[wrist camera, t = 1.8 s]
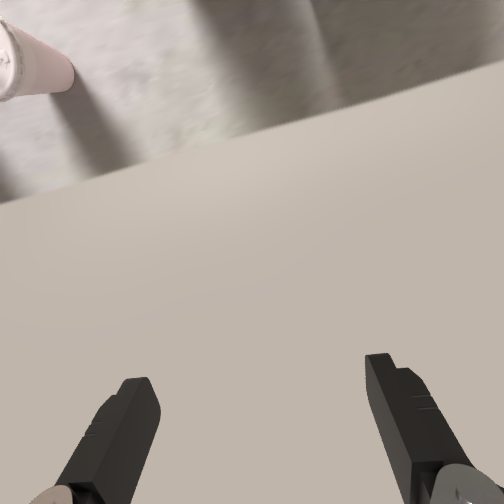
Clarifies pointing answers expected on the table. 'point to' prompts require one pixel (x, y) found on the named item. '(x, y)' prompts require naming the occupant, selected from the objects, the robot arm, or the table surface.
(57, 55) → the smoothie
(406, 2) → the table surface
